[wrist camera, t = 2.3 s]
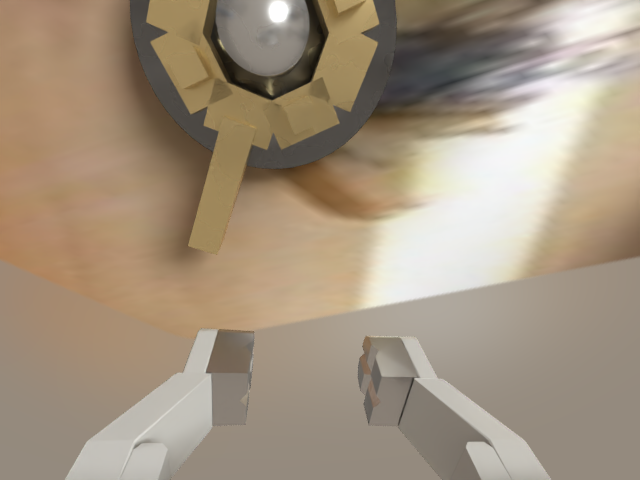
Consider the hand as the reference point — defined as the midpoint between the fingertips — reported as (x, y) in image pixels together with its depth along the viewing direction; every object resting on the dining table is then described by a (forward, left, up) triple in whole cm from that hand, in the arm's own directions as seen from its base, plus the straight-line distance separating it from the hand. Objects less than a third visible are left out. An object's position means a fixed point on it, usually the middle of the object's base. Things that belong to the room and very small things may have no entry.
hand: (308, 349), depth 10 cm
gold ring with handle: (+5, -5, -16) cm, 17 cm away
